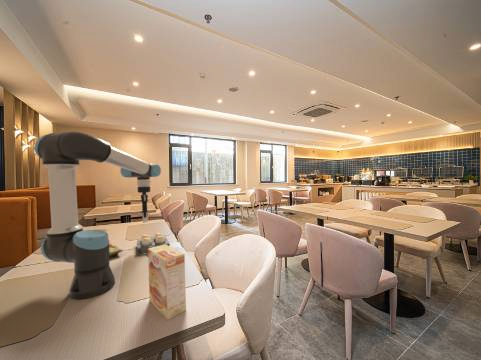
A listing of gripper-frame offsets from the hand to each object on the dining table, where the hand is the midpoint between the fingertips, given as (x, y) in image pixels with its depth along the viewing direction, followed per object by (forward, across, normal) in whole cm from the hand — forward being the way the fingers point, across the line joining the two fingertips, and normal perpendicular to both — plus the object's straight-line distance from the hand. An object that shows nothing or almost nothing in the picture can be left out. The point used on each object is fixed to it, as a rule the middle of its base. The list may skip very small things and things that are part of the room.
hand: (145, 222), depth 132 cm
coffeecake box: (+16, -71, -3) cm, 73 cm away
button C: (+13, 0, -8) cm, 15 cm away
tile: (+16, -15, -4) cm, 22 cm away
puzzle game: (+17, -2, +22) cm, 28 cm away
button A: (+13, -8, -8) cm, 17 cm away
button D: (+13, 0, 0) cm, 13 cm away
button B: (+13, -8, 0) cm, 15 cm away
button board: (+16, -4, -4) cm, 17 cm away
